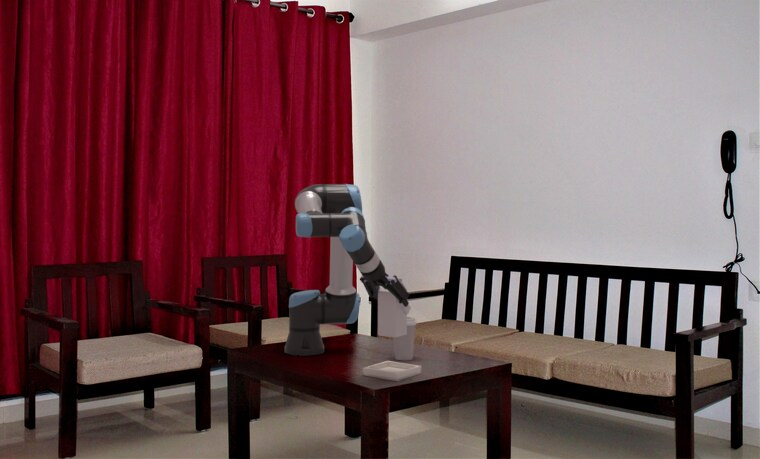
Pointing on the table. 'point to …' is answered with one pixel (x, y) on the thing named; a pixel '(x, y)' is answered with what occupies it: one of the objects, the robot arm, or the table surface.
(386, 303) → the milk carton
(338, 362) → the table surface
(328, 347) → the table surface
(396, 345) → the coffee cup
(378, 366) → the ceramic tray
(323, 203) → the robot arm
